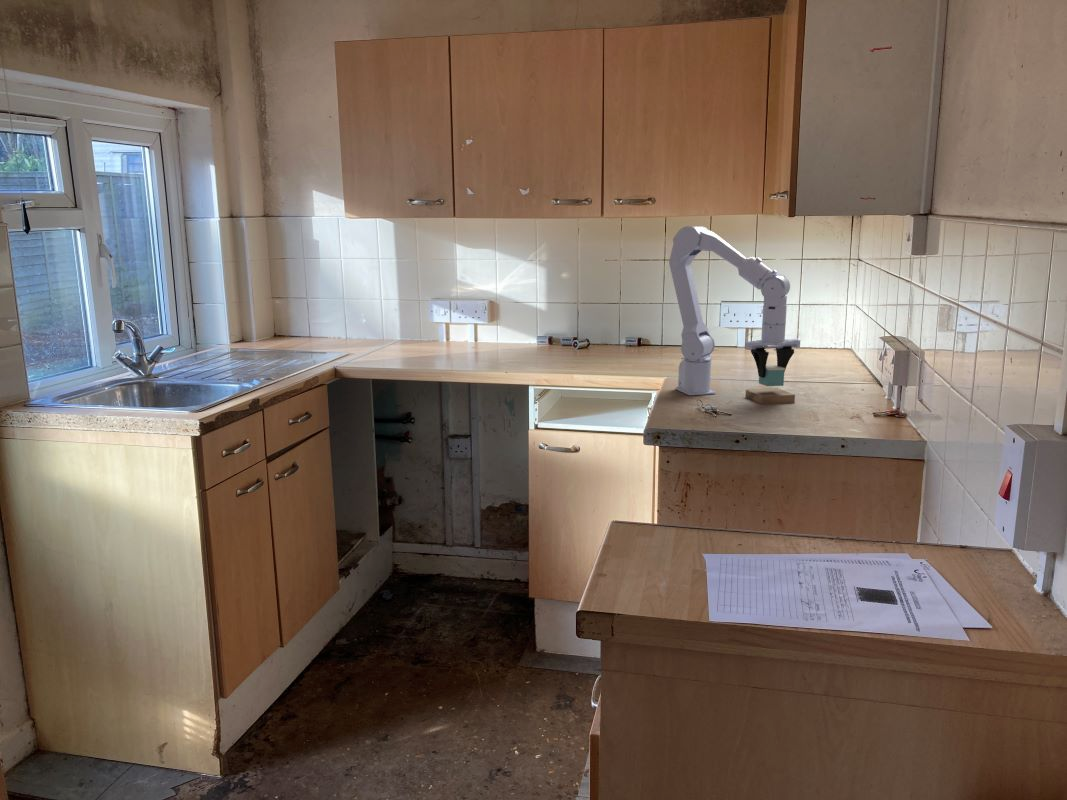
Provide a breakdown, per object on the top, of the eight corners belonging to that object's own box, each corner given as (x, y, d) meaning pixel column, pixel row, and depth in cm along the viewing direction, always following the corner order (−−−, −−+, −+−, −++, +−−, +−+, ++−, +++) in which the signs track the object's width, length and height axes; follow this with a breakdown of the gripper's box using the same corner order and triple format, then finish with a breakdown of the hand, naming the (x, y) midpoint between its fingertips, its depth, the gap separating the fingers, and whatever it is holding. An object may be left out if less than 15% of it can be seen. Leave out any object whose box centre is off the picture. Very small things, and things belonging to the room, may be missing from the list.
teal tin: (758, 383, 214) (759, 365, 214) (774, 382, 215) (775, 365, 215) (767, 386, 210) (768, 368, 209) (783, 385, 211) (785, 367, 210)
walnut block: (745, 398, 217) (745, 389, 217) (776, 396, 219) (776, 387, 219) (762, 406, 209) (762, 396, 208) (794, 403, 211) (795, 394, 210)
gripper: (755, 326, 204) (753, 380, 207) (808, 324, 208) (804, 377, 211) (741, 323, 211) (739, 375, 214) (793, 321, 214) (789, 372, 217)
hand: (770, 376), depth 213 cm, fingers closed on teal tin, 5 cm apart
